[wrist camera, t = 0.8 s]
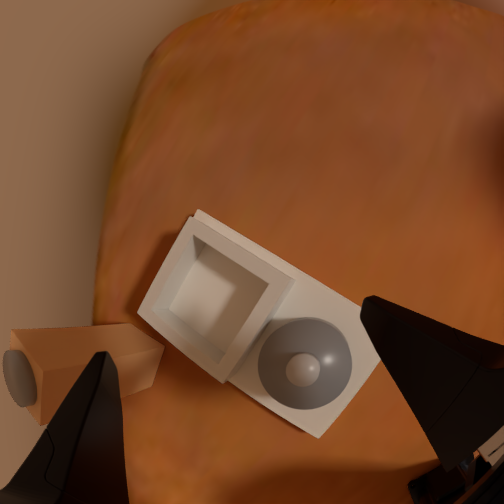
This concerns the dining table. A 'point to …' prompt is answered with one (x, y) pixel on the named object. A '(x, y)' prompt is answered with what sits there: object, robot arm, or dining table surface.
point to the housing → (260, 324)
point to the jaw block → (74, 362)
